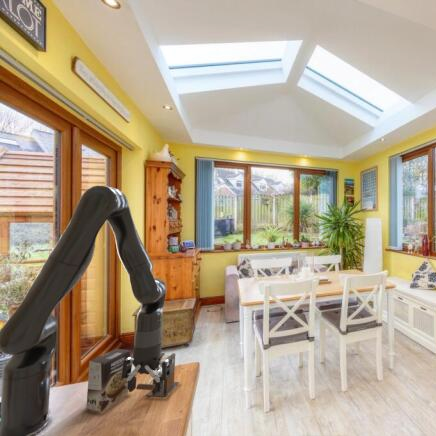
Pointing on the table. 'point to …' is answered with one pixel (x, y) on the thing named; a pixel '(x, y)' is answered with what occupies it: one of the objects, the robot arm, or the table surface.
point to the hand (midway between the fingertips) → (145, 391)
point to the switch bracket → (169, 382)
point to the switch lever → (149, 380)
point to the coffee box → (106, 380)
